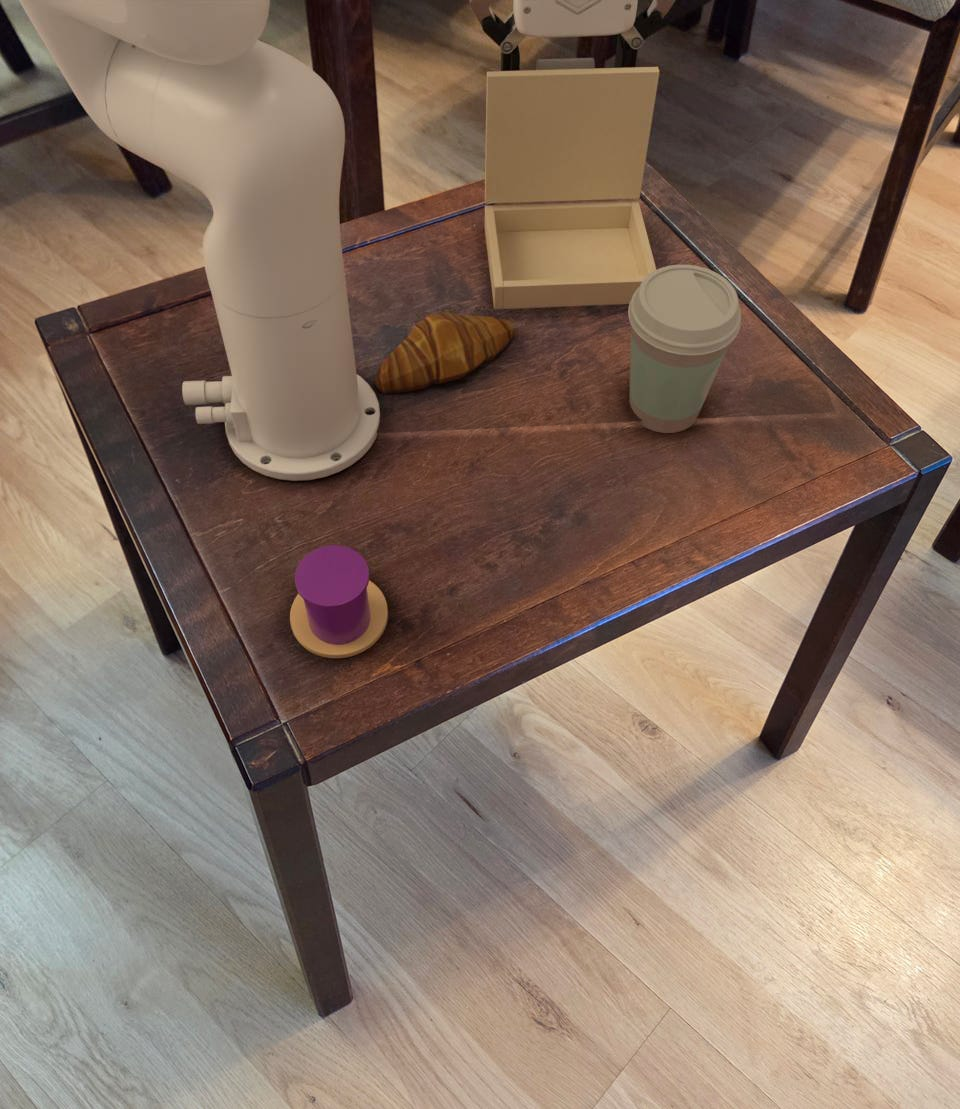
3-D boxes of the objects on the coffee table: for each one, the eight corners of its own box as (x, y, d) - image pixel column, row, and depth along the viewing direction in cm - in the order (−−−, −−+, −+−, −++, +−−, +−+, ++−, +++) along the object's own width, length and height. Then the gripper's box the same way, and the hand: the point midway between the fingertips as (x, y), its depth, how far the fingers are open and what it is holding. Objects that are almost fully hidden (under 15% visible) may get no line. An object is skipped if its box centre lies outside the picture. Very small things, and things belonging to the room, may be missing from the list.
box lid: (659, 71, 89) (648, 36, 92) (487, 76, 88) (482, 41, 92) (639, 198, 99) (630, 163, 102) (485, 203, 98) (480, 168, 102)
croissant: (490, 316, 95) (492, 272, 91) (532, 362, 92) (535, 317, 88) (357, 371, 91) (352, 327, 87) (396, 421, 87) (392, 377, 83)
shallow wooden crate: (654, 309, 96) (659, 280, 93) (493, 315, 95) (494, 287, 92) (633, 229, 102) (638, 199, 100) (484, 234, 102) (484, 205, 99)
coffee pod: (303, 650, 74) (293, 608, 69) (305, 591, 77) (295, 546, 72) (375, 646, 74) (369, 603, 70) (374, 587, 77) (368, 543, 73)
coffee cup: (711, 453, 86) (742, 343, 76) (606, 437, 87) (624, 326, 77) (718, 380, 91) (749, 267, 81) (619, 365, 92) (638, 252, 82)
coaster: (289, 661, 74) (288, 657, 74) (292, 579, 78) (291, 575, 78) (389, 655, 74) (388, 652, 74) (387, 574, 78) (386, 570, 78)
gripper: (472, -99, 78) (472, 114, 92) (704, -105, 79) (669, 107, 93) (465, -143, 82) (467, 67, 96) (685, -149, 83) (655, 60, 97)
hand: (566, 86), depth 94 cm, fingers open, 9 cm apart
